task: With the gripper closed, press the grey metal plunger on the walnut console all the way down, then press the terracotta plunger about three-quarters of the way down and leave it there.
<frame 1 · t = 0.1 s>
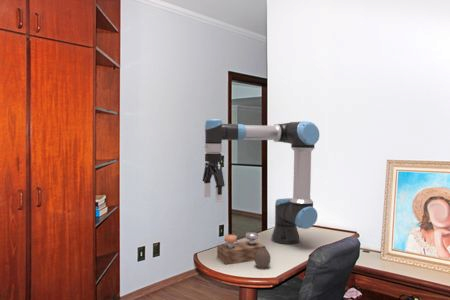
hand: (212, 199, 166), 28 cm above the table, tool pointing down, fingers open, 13 cm apart
terracotta plunger: (230, 243, 167), point 8 cm above the table, slide at 0.0 cm
vase: (262, 267, 159), on the table
console: (241, 258, 169), on the table
grey plunger: (251, 240, 171), point 8 cm above the table, slide at 0.0 cm
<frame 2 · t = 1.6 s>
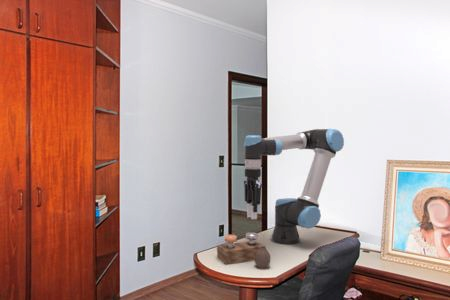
hand: (252, 217, 171), 19 cm above the table, tool pointing down, fingers open, 3 cm apart
nothing on the table moved.
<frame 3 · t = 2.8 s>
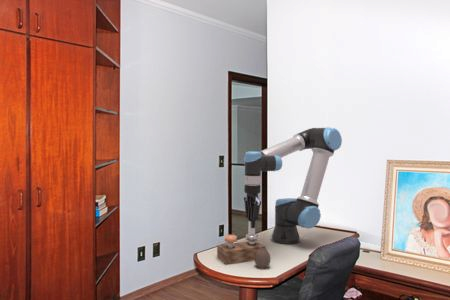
hand: (251, 234, 171), 11 cm above the table, tool pointing down, fingers closed
grey plunger: (251, 241, 171), point 7 cm above the table, slide at 0.5 cm, touching gripper
everything else where it was.
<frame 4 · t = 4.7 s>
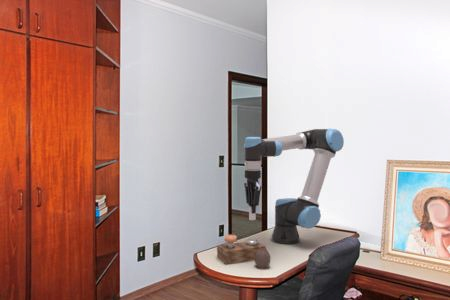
hand: (252, 219, 171), 18 cm above the table, tool pointing down, fingers closed
grey plunger: (251, 246, 172), point 5 cm above the table, slide at 3.0 cm, touching console
everything else where it was.
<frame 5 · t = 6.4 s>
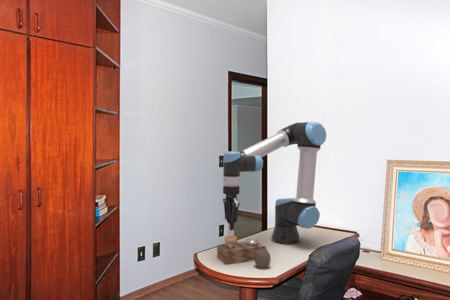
hand: (230, 236, 167), 11 cm above the table, tool pointing down, fingers closed
terracotta plunger: (230, 244, 167), point 7 cm above the table, slide at 0.4 cm, touching gripper
everything else where it was.
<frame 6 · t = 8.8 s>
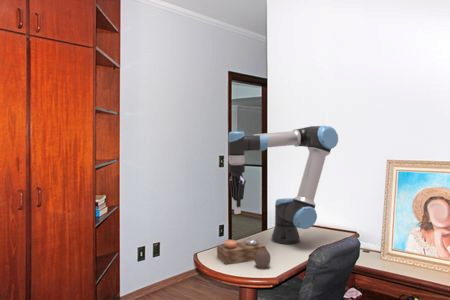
hand: (237, 213, 173), 20 cm above the table, tool pointing down, fingers closed
terracotta plunger: (230, 248, 167), point 5 cm above the table, slide at 2.4 cm
everything else where it was.
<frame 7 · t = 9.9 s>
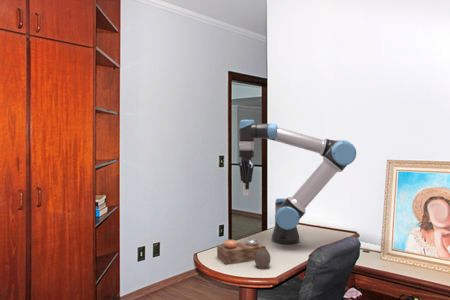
hand: (245, 195, 188), 26 cm above the table, tool pointing down, fingers closed
nothing on the table moved.
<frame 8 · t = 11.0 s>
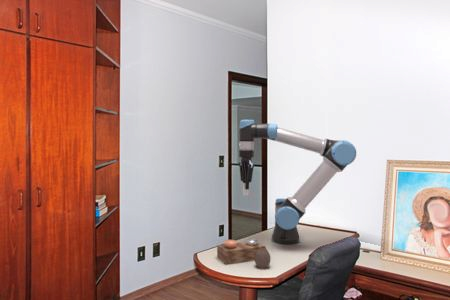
hand: (245, 195, 188), 26 cm above the table, tool pointing down, fingers closed
nothing on the table moved.
at the end: grey plunger slide at 3.0 cm; terracotta plunger slide at 2.4 cm; vase moved 0.2 cm from its start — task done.
